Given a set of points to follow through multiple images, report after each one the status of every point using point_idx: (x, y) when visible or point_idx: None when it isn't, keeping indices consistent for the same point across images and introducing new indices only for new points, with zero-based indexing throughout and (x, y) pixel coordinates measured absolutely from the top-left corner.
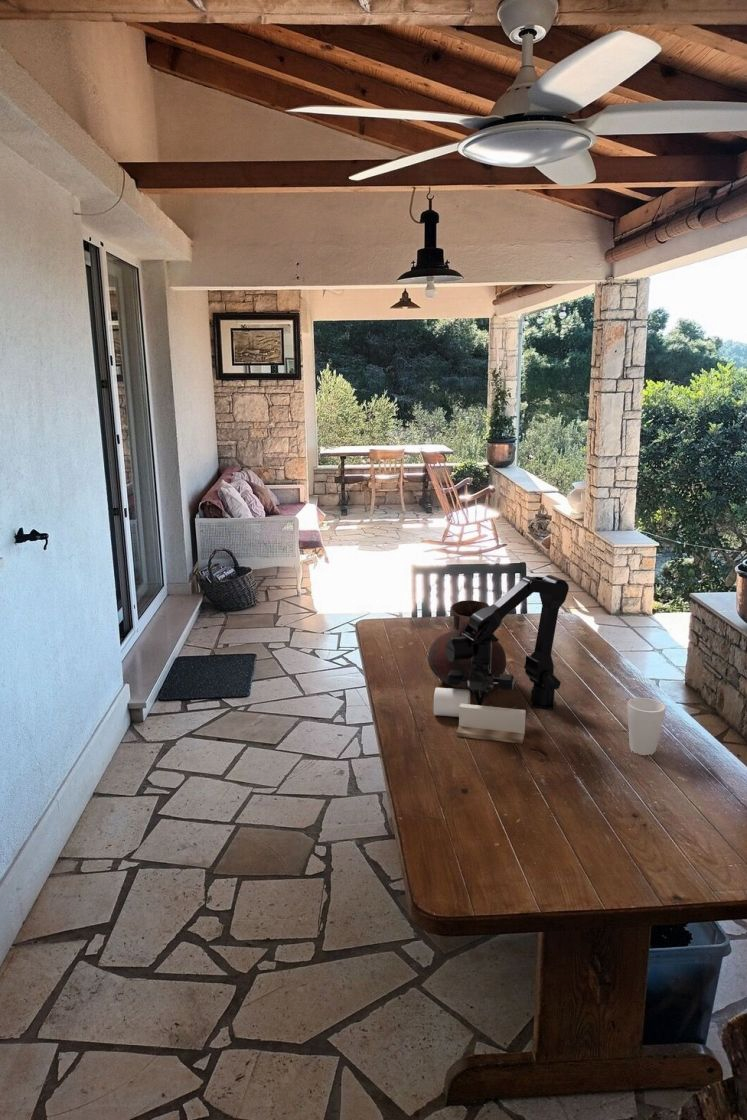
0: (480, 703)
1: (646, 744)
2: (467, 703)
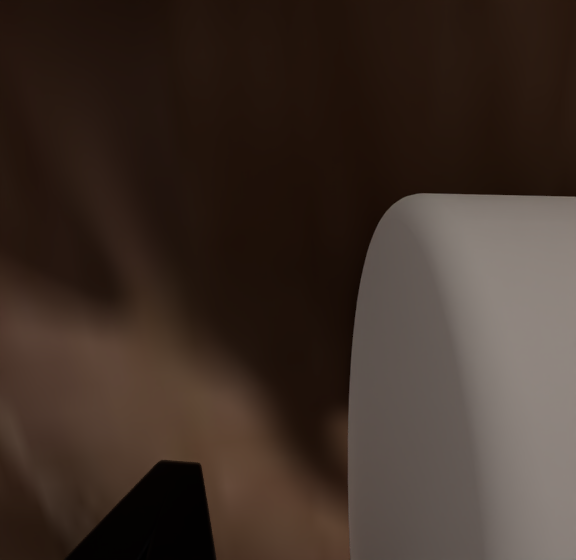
0: (137, 523)
1: None
2: (501, 312)
